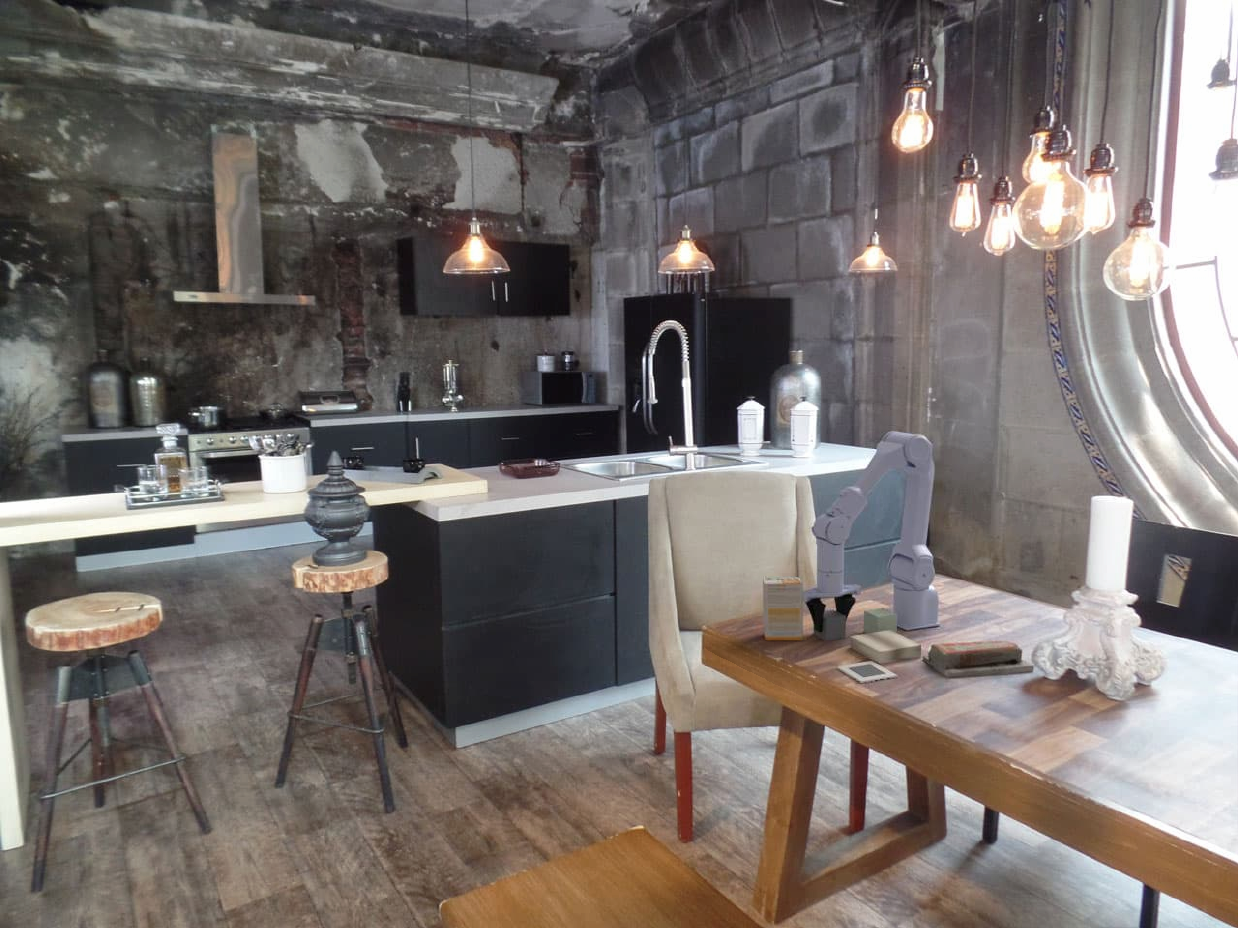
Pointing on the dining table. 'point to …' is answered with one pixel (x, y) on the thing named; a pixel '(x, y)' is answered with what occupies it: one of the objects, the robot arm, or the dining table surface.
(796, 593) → the supplement box
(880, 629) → the sage block
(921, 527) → the robot arm
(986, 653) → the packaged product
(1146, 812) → the dining table surface
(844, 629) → the charcoal block
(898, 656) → the birch base block
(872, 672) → the tile
